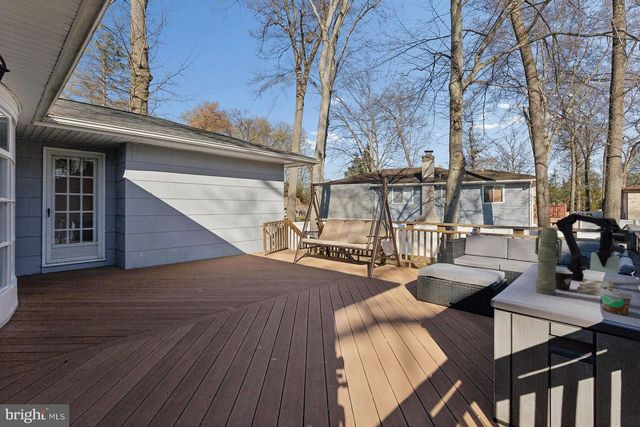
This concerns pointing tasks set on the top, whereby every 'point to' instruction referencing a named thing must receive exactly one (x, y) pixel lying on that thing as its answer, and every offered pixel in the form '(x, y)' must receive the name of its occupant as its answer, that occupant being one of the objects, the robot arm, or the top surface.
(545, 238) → the thermos
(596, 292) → the rack
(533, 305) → the top surface
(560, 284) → the coffee mug
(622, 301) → the food container
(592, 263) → the green board
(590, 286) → the offcut stack
